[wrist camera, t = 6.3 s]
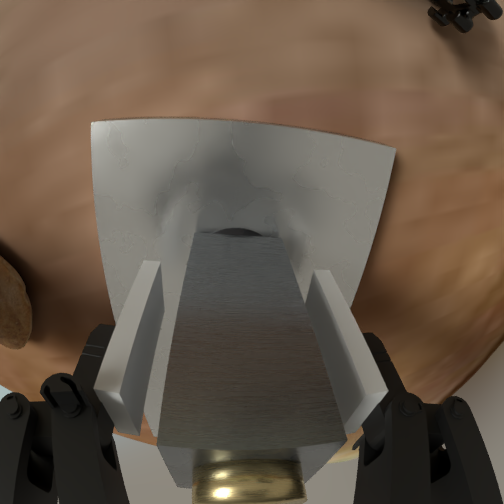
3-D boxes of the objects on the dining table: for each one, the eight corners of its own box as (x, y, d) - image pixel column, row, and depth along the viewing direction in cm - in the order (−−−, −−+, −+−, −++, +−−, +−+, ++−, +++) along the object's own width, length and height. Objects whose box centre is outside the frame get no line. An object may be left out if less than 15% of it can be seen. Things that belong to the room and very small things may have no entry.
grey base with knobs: (381, 143, 13) (575, 250, 3) (287, 428, 27) (303, 523, 17) (104, 119, 12) (-106, 205, 2) (155, 424, 25) (146, 521, 15)
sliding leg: (281, 237, 13) (358, 477, 4) (270, 305, 15) (307, 510, 6) (194, 232, 13) (152, 487, 4) (194, 301, 15) (177, 513, 6)
